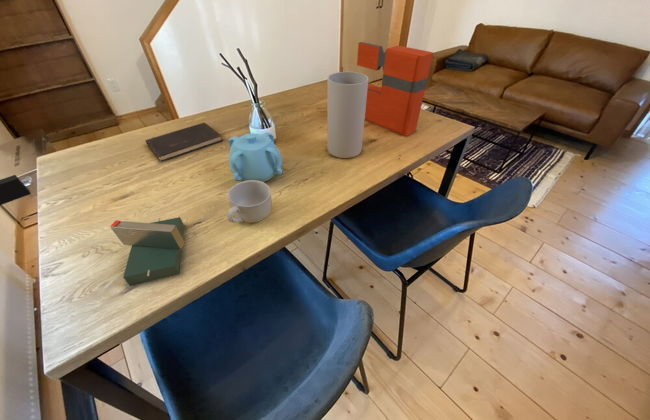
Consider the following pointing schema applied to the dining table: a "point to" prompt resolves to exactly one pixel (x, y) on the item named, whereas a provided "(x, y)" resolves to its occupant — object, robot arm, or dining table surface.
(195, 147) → the hardcover book
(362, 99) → the cylinder vase
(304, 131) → the dining table surface
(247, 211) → the teacup
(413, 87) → the clamp
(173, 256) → the green block
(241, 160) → the decorative pot
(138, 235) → the red-tipped metal bar
